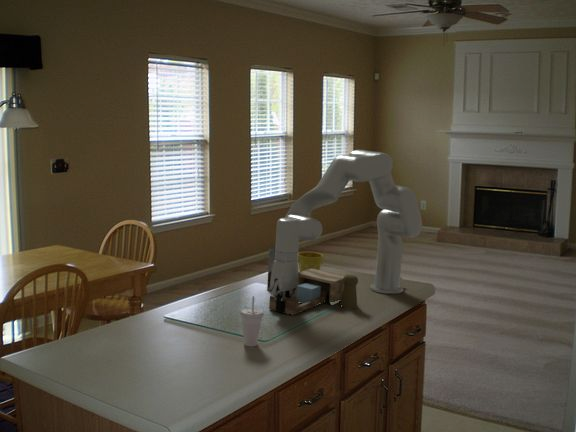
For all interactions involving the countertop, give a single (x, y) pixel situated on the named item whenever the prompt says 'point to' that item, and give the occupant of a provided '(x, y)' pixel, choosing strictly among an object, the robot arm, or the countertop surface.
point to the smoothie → (251, 324)
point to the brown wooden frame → (292, 303)
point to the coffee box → (270, 264)
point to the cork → (349, 292)
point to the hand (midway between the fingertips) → (283, 310)
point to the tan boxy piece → (323, 282)
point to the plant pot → (309, 260)
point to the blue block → (307, 292)
